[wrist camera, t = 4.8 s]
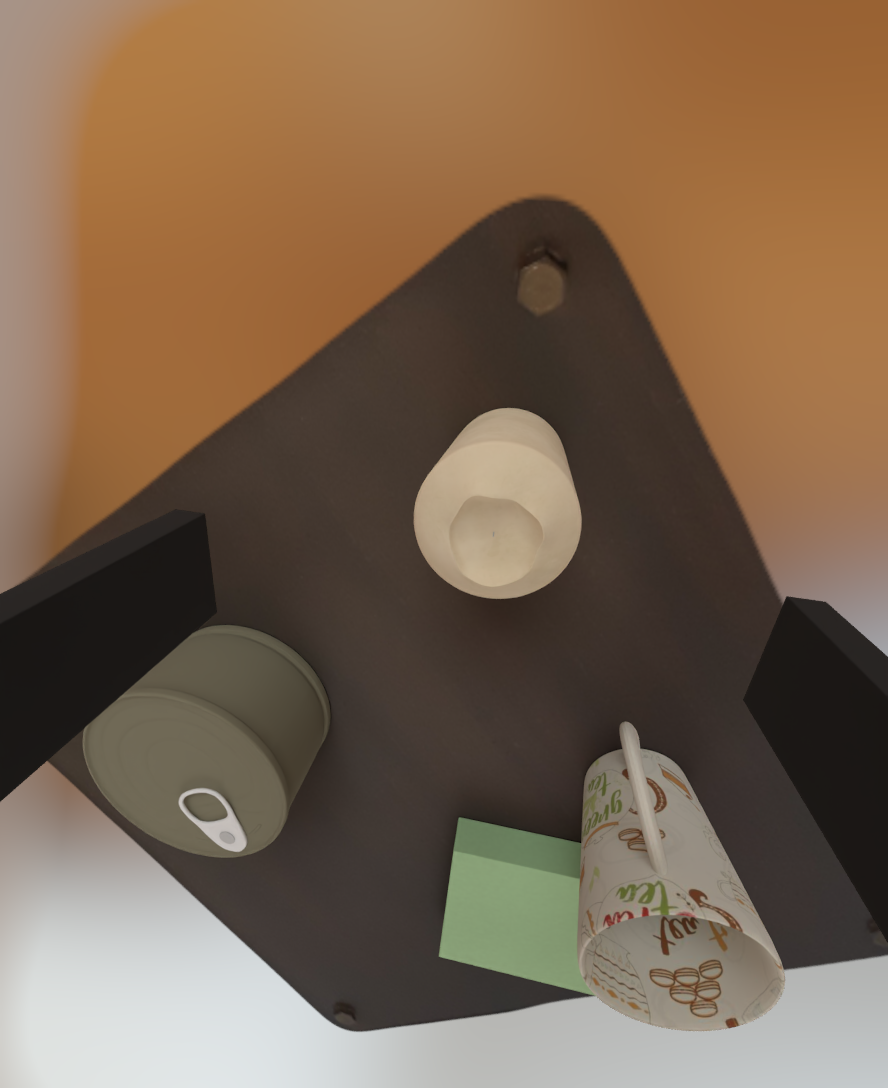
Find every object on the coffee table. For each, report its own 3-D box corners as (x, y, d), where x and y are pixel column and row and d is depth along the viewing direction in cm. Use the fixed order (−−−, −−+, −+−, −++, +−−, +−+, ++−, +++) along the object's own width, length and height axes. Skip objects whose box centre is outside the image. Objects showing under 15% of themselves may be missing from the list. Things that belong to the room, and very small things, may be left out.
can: (271, 597, 29) (200, 667, 23) (365, 745, 33) (326, 841, 26) (133, 651, 33) (39, 724, 27) (231, 779, 36) (168, 871, 30)
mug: (581, 836, 33) (600, 1028, 23) (532, 686, 29) (532, 847, 19) (716, 826, 30) (795, 1035, 21) (684, 661, 26) (763, 832, 17)
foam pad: (636, 854, 32) (644, 893, 30) (598, 957, 37) (602, 998, 35) (458, 816, 34) (453, 850, 32) (444, 920, 39) (438, 956, 36)
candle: (438, 424, 24) (378, 478, 14) (551, 392, 22) (564, 428, 13) (468, 528, 25) (433, 633, 16) (575, 503, 24) (601, 605, 15)
